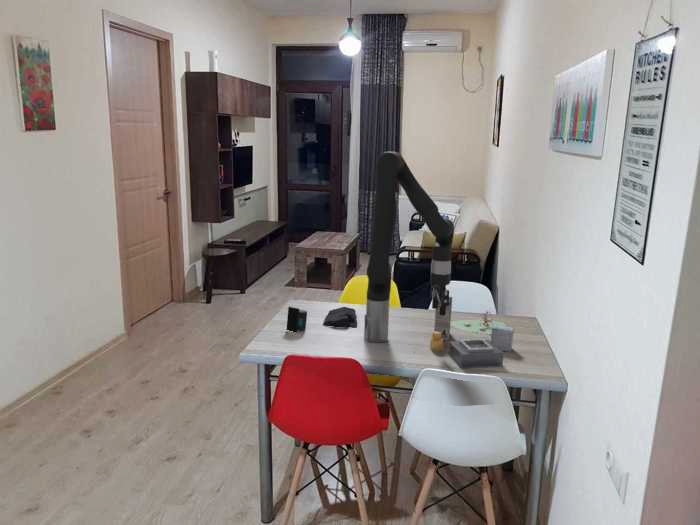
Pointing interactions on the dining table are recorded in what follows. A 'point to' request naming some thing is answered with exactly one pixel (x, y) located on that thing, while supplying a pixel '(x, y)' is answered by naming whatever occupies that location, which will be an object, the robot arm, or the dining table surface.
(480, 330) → the plant
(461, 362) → the block
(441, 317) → the coffee box
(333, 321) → the dark slate chunk
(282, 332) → the dining table surface
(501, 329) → the medicine box
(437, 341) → the tan stepped cylinder
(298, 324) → the speaker
